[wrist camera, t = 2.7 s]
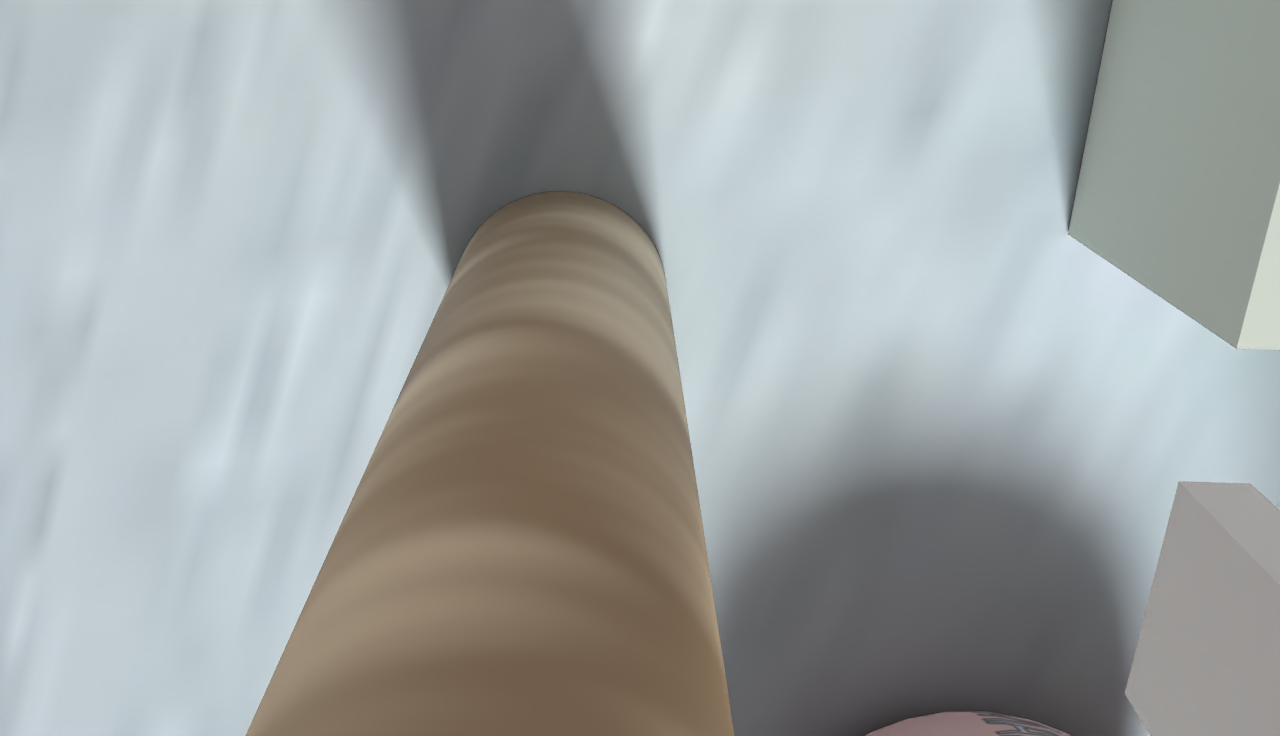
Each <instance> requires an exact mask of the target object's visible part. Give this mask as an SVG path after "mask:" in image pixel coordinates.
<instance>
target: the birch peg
mask: <svg viewBox="0 0 1280 736" xmlns="http://www.w3.org/2000/svg"><path fill="white" fill-rule="evenodd" d="M246 736H735V735H734V729H733V722H732V716H731V709H730V702H729V696H728V689H727V682H726V676H725V669H724V663H723V656H722V649H721V643H720V636H719V629H718V623H717V616H716V610H715V603H714V596H713V590H712V583H711V576H710V570H709V563H708V557H707V550H706V543H705V537H704V530H703V523H702V517H701V510H700V504H699V497H698V490H697V484H696V477H695V470H694V464H693V457H692V451H691V444H690V437H689V431H688V424H687V418H686V411H685V404H684V398H683V391H682V384H681V378H680V371H679V365H678V358H677V351H676V345H675V338H674V331H673V325H672V318H671V312H670V305H669V298H668V292H667V285H666V279H665V272H664V269H663V265H662V262H661V259H660V257H659V254H658V252H657V250H656V248H655V246H654V244H653V243H652V241H651V240H650V238H649V236H648V235H647V234H646V233H645V231H644V230H643V229H642V228H641V227H640V225H639V224H638V223H636V222H635V221H634V220H633V219H632V218H631V217H630V216H629V215H628V214H626V213H625V212H623V211H622V210H620V209H619V208H618V207H616V206H614V205H612V204H610V203H608V202H606V201H604V200H602V199H599V198H596V197H593V196H590V195H586V194H582V193H577V192H567V191H551V192H543V193H537V194H533V195H529V196H526V197H523V198H520V199H518V200H516V201H513V202H511V203H509V204H507V205H506V206H504V207H502V208H501V209H499V210H498V211H496V212H495V213H494V214H493V215H491V216H490V217H489V218H488V219H487V220H486V221H485V222H484V223H483V224H482V225H481V226H480V227H479V228H478V229H477V231H476V232H475V234H474V235H473V236H472V238H471V239H470V241H469V243H468V245H467V247H466V249H465V251H464V253H463V255H462V257H461V259H460V262H459V264H458V266H457V268H456V271H455V273H454V275H453V277H452V279H451V282H450V284H449V286H448V288H447V291H446V293H445V295H444V297H443V299H442V302H441V304H440V306H439V308H438V310H437V313H436V315H435V317H434V319H433V322H432V324H431V326H430V328H429V330H428V333H427V335H426V337H425V339H424V341H423V344H422V346H421V348H420V350H419V353H418V355H417V357H416V359H415V361H414V364H413V366H412V368H411V370H410V373H409V375H408V377H407V379H406V381H405V384H404V386H403V388H402V390H401V392H400V395H399V397H398V399H397V401H396V404H395V406H394V408H393V410H392V412H391V415H390V417H389V419H388V421H387V423H386V426H385V428H384V430H383V432H382V435H381V437H380V439H379V441H378V443H377V446H376V448H375V450H374V452H373V455H372V457H371V459H370V461H369V463H368V466H367V468H366V470H365V472H364V474H363V477H362V479H361V481H360V483H359V486H358V488H357V490H356V492H355V494H354V497H353V499H352V501H351V503H350V506H349V508H348V510H347V512H346V514H345V517H344V519H343V521H342V523H341V525H340V528H339V530H338V532H337V534H336V537H335V539H334V541H333V543H332V545H331V548H330V550H329V552H328V554H327V556H326V559H325V561H324V563H323V565H322V568H321V570H320V572H319V574H318V576H317V579H316V581H315V583H314V585H313V588H312V590H311V592H310V594H309V596H308V599H307V601H306V603H305V605H304V607H303V610H302V612H301V614H300V616H299V619H298V621H297V623H296V625H295V627H294V630H293V632H292V634H291V636H290V638H289V641H288V643H287V645H286V647H285V650H284V652H283V654H282V656H281V658H280V661H279V663H278V665H277V667H276V670H275V672H274V674H273V676H272V678H271V681H270V683H269V685H268V687H267V689H266V692H265V694H264V696H263V698H262V701H261V703H260V705H259V707H258V709H257V712H256V714H255V716H254V718H253V721H252V723H251V725H250V727H249V729H248V732H247V734H246Z"/></svg>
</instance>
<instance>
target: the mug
mask: <svg viewBox="0 0 1280 736" xmlns="http://www.w3.org/2000/svg"><path fill="white" fill-rule="evenodd" d="M866 736H1071V735H1069V734H1068V733H1066V732H1063V731H1060V730H1058V729H1055V728H1052V727H1049V726H1047V725H1044V724H1041V723H1039V722H1036V721H1033V720H1030V719H1027V718H1023V717H1017V716H1011V715H1005V714H999V713H993V712H986V711H977V712H942V713H936V714H931V715H926V716H920V717H915V718H909V719H906V720H903V721H900V722H897V723H894V724H892V725H889V726H886V727H883V728H881V729H878V730H875V731H873V732H871V733H869V734H867V735H866Z"/></svg>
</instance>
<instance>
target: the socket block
mask: <svg viewBox="0 0 1280 736" xmlns="http://www.w3.org/2000/svg"><path fill="white" fill-rule="evenodd" d="M1068 235H1070V236H1071V237H1073V238H1074V239H1076V240H1077V241H1079V242H1080V243H1082V244H1083V245H1084V246H1086V247H1087V248H1089V249H1090V250H1092V251H1093V252H1095V253H1096V254H1098V255H1099V256H1101V257H1102V258H1104V259H1105V260H1107V261H1108V262H1110V263H1111V264H1112V265H1114V266H1115V267H1117V268H1118V269H1120V270H1121V271H1123V272H1124V273H1126V274H1127V275H1129V276H1130V277H1132V278H1133V279H1135V280H1136V281H1138V282H1139V283H1140V284H1142V285H1143V286H1145V287H1146V288H1148V289H1149V290H1151V291H1152V292H1154V293H1155V294H1157V295H1158V296H1160V297H1161V298H1163V299H1164V300H1166V301H1167V302H1168V303H1170V304H1171V305H1173V306H1174V307H1176V308H1177V309H1179V310H1180V311H1182V312H1183V313H1185V314H1186V315H1188V316H1189V317H1191V318H1192V319H1194V320H1195V321H1196V322H1198V323H1199V324H1201V325H1202V326H1204V327H1205V328H1207V329H1208V330H1210V331H1211V332H1213V333H1214V334H1216V335H1217V336H1219V337H1220V338H1222V339H1223V340H1224V341H1226V342H1227V343H1229V344H1230V345H1232V346H1233V347H1235V348H1236V349H1264V350H1280V0H1113V2H1112V7H1111V12H1110V17H1109V23H1108V28H1107V33H1106V38H1105V44H1104V49H1103V54H1102V59H1101V65H1100V70H1099V75H1098V80H1097V86H1096V91H1095V96H1094V101H1093V106H1092V112H1091V117H1090V122H1089V127H1088V133H1087V138H1086V143H1085V148H1084V154H1083V159H1082V164H1081V169H1080V175H1079V180H1078V185H1077V190H1076V196H1075V201H1074V206H1073V211H1072V216H1071V222H1070V227H1069V232H1068Z"/></svg>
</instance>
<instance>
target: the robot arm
mask: <svg viewBox="0 0 1280 736" xmlns="http://www.w3.org/2000/svg"><path fill="white" fill-rule="evenodd" d="M1125 695H1126V697H1127V699H1128V700H1129V702H1130V703H1131V705H1132V706H1133V708H1134V709H1135V711H1136V713H1137V714H1138V716H1139V717H1140V719H1141V720H1142V722H1143V724H1144V725H1145V727H1146V728H1147V730H1148V731H1149V733H1150V735H1151V736H1280V510H1279V509H1278V508H1277V507H1275V506H1274V505H1273V504H1272V503H1271V502H1270V501H1269V500H1268V499H1267V498H1266V497H1264V496H1263V495H1262V494H1261V493H1260V492H1259V491H1258V490H1257V489H1256V488H1255V487H1253V486H1252V485H1251V484H1243V483H1210V482H1179V483H1178V487H1177V490H1176V494H1175V498H1174V502H1173V506H1172V510H1171V514H1170V518H1169V522H1168V526H1167V530H1166V534H1165V537H1164V541H1163V545H1162V549H1161V553H1160V557H1159V561H1158V565H1157V569H1156V573H1155V577H1154V581H1153V584H1152V588H1151V592H1150V596H1149V600H1148V604H1147V608H1146V612H1145V616H1144V620H1143V624H1142V628H1141V631H1140V635H1139V639H1138V643H1137V647H1136V651H1135V655H1134V659H1133V663H1132V667H1131V671H1130V675H1129V678H1128V682H1127V686H1126V690H1125Z"/></svg>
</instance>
